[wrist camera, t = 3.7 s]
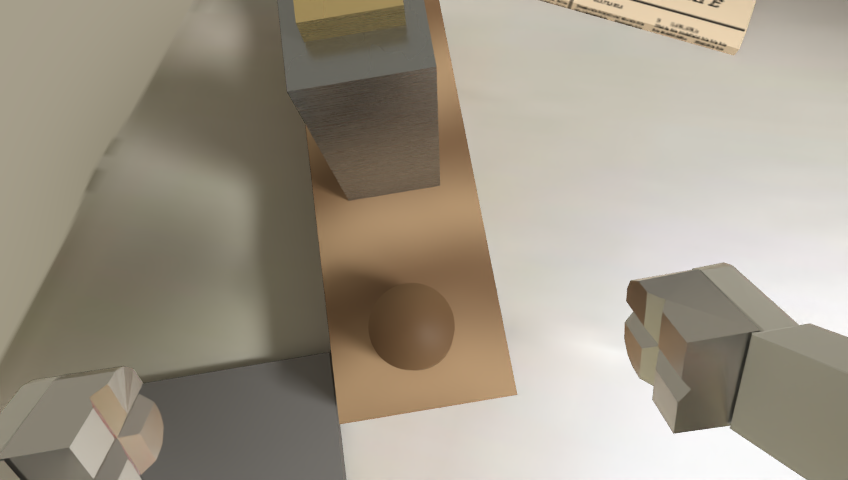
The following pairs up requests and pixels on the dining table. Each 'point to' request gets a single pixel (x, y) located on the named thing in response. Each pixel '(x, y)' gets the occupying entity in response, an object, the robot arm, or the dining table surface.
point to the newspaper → (677, 18)
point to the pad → (250, 423)
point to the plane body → (412, 280)
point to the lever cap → (365, 90)
